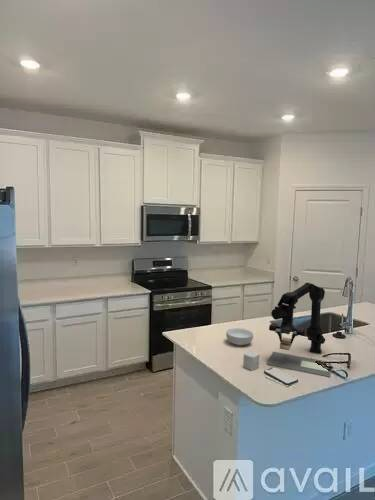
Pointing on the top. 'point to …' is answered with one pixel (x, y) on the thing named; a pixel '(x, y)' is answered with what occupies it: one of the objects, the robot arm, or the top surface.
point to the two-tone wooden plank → (285, 343)
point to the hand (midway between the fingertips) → (286, 344)
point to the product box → (251, 360)
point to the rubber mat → (298, 364)
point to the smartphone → (281, 376)
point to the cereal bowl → (239, 336)
